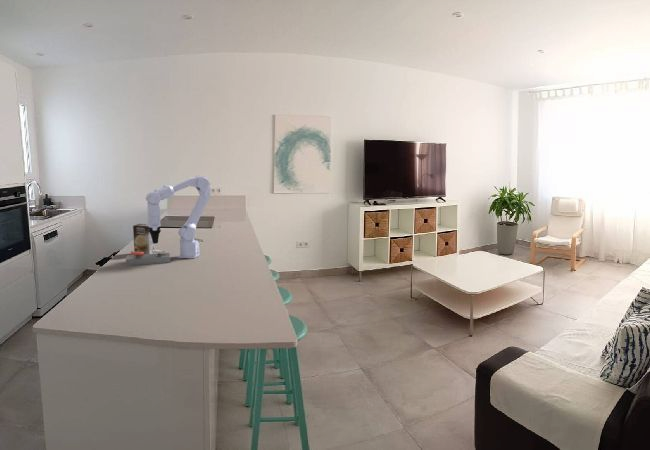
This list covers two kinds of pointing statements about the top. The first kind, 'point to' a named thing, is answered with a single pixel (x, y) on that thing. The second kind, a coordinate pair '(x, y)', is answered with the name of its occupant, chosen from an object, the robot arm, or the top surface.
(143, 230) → the coffee box
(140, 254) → the red rocker
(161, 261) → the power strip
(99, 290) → the top surface
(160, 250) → the white rocker
